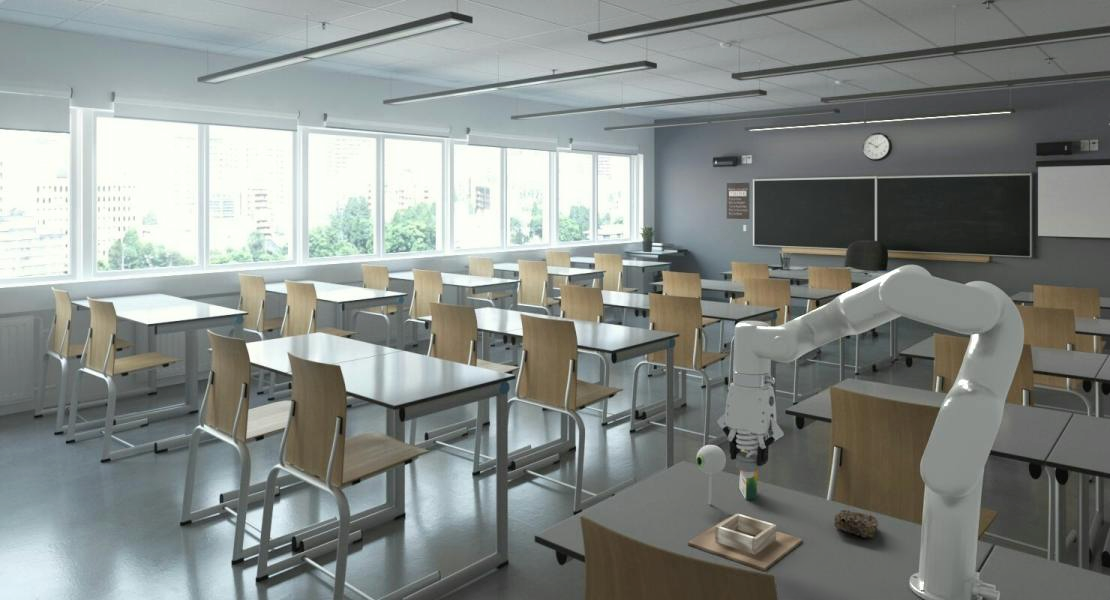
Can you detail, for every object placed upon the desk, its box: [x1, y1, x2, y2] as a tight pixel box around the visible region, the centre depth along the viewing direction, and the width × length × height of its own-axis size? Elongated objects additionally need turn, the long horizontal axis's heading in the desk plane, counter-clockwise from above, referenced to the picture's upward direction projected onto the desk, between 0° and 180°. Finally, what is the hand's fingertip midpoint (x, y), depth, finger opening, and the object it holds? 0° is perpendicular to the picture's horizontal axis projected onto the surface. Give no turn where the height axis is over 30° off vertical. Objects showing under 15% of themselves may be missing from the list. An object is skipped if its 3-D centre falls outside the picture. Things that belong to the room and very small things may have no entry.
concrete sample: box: [833, 509, 879, 539], centre depth 177 cm, size 12×10×5 cm
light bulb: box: [735, 430, 762, 479], centre depth 169 cm, size 6×6×12 cm
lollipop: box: [695, 444, 727, 505], centre depth 192 cm, size 7×7×15 cm
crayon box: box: [738, 449, 759, 501], centre depth 199 cm, size 7×3×12 cm, turn 179°
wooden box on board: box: [687, 512, 803, 572], centre depth 171 cm, size 18×18×4 cm
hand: (748, 460), depth 169 cm, fingers closed on light bulb, 5 cm apart
